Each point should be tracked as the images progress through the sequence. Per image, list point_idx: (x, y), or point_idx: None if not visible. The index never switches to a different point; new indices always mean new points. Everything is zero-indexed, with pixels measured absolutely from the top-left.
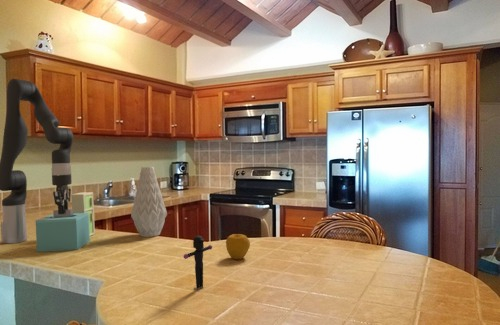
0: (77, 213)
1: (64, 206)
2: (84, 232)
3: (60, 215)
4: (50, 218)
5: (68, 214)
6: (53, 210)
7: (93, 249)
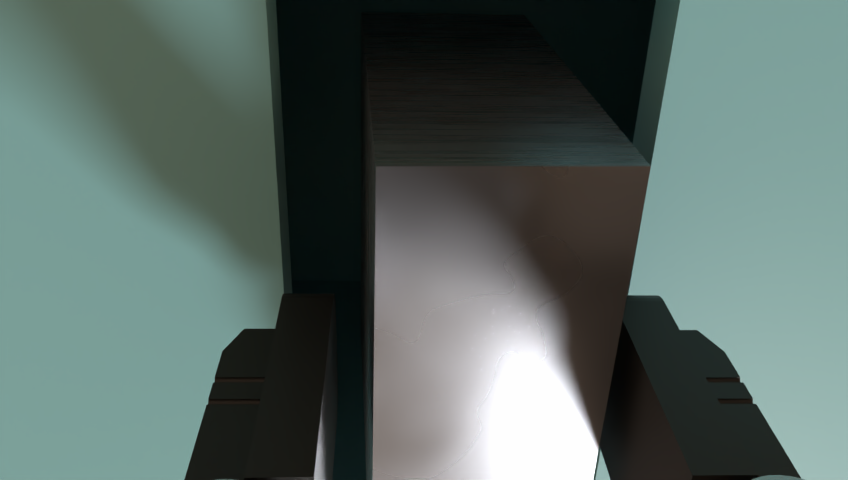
0: (838, 454)
1: (650, 477)
2: None
3: (367, 281)
4: (159, 66)
5: (366, 463)
6: (376, 167)
7: None
